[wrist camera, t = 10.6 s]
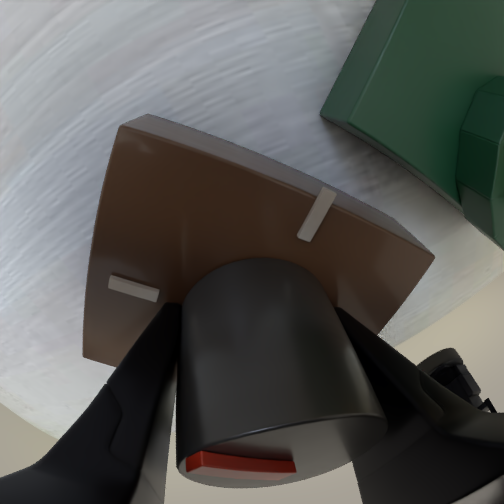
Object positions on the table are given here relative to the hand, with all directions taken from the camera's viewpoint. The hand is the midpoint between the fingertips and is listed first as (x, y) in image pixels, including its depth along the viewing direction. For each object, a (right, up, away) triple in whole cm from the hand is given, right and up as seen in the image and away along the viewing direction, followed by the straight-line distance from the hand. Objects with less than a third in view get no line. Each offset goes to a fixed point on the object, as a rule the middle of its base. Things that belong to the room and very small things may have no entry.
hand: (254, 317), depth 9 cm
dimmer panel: (0, +1, +3) cm, 3 cm away
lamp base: (+10, +11, -2) cm, 15 cm away
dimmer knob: (0, 0, 0) cm, 0 cm away
